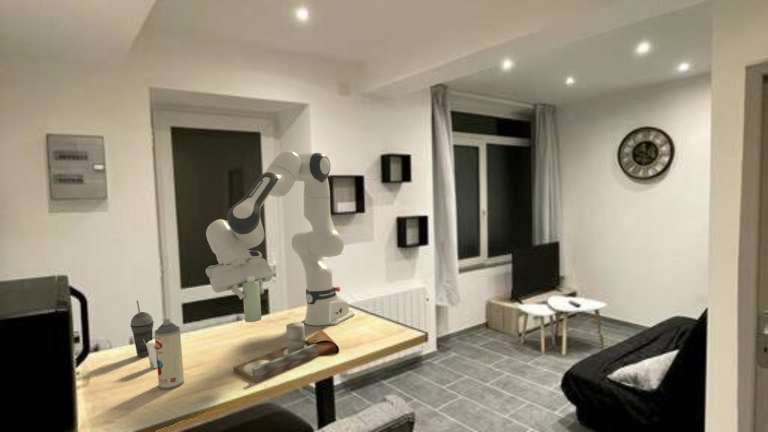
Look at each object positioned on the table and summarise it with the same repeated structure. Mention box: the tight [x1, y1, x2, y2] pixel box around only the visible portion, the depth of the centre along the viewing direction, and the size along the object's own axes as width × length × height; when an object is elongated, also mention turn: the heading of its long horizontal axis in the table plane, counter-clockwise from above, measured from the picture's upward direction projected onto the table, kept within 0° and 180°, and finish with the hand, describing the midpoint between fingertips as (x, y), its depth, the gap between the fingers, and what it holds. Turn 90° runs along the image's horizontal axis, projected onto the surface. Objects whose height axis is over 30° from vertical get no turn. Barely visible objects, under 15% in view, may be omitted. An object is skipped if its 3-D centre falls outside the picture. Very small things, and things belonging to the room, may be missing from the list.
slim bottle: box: [242, 275, 262, 323], centre depth 134 cm, size 5×5×14 cm
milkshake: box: [143, 338, 157, 370], centre depth 141 cm, size 4×5×10 cm
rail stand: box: [232, 321, 318, 383], centre depth 140 cm, size 24×13×11 cm, turn 139°
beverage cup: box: [130, 300, 155, 359], centre depth 151 cm, size 7×7×20 cm
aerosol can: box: [154, 318, 185, 391], centre depth 127 cm, size 7×7×20 cm
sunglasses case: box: [305, 328, 340, 358], centre depth 154 cm, size 18×7×7 cm, turn 26°
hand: (252, 295), depth 133 cm, fingers closed on slim bottle, 5 cm apart
